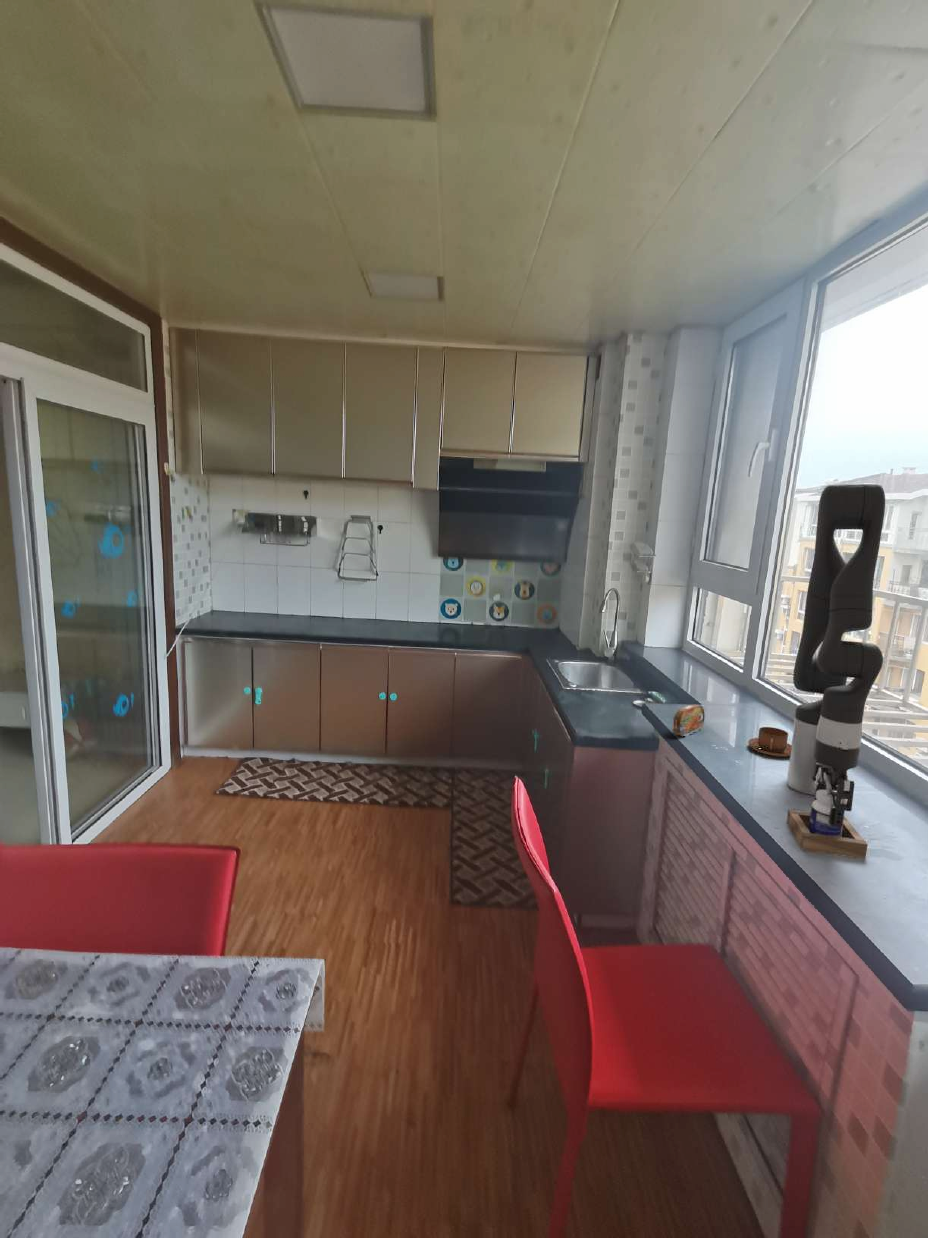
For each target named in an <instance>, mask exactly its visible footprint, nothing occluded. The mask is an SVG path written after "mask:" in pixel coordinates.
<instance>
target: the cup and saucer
mask: <svg viewBox="0 0 928 1238" xmlns="http://www.w3.org/2000/svg"><path fill="white" fill-rule="evenodd" d="M757 736H758V737H754V738H751V739H749V740H748V746H749V747H750V748H751V749H752V750H754V751H756V752H757V753H761V754H763V755H766V756H771V757H782V758H783V757H784V758H786V757H790V753H791V745H792V744H790V743H788V737H789V733H788V732H787V731H786V730H784V729H780V728H777V727H772V726H771V727H770V726H762V727H760V728H758V735H757ZM759 748H761V749H759Z"/></svg>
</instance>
